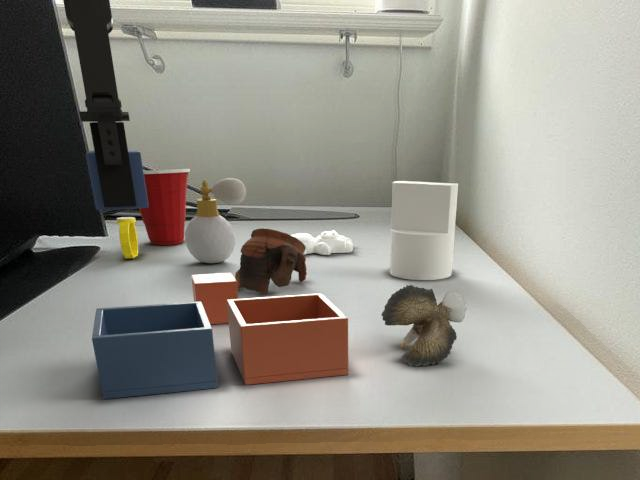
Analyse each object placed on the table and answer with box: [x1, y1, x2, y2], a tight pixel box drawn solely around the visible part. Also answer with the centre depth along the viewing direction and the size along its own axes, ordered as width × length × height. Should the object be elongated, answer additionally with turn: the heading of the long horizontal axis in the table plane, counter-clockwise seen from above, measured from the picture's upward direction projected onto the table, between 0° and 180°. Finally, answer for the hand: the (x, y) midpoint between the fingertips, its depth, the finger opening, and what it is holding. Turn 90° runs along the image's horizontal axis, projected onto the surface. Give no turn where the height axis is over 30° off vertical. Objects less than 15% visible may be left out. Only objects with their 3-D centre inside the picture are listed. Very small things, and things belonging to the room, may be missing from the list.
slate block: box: [85, 149, 149, 211], centre depth 60 cm, size 4×4×4 cm
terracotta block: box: [190, 272, 239, 325], centre depth 73 cm, size 4×4×4 cm
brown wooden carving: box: [234, 227, 308, 295], centre depth 86 cm, size 12×10×8 cm
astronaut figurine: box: [290, 229, 354, 256], centre depth 110 cm, size 9×12×3 cm
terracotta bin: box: [227, 292, 349, 386], centre depth 60 cm, size 9×9×5 cm
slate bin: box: [91, 301, 219, 400], centre depth 57 cm, size 9×9×5 cm
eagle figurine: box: [381, 284, 468, 367], centre depth 64 cm, size 8×7×9 cm
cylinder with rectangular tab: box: [389, 180, 459, 281], centre depth 93 cm, size 9×9×12 cm
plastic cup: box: [138, 168, 191, 246], centre depth 114 cm, size 11×11×12 cm
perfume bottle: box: [184, 177, 247, 264], centre depth 99 cm, size 8×10×12 cm
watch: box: [116, 216, 139, 259], centre depth 103 cm, size 6×3×6 cm, turn 6°
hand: (120, 202), depth 60 cm, fingers closed on slate block, 4 cm apart
